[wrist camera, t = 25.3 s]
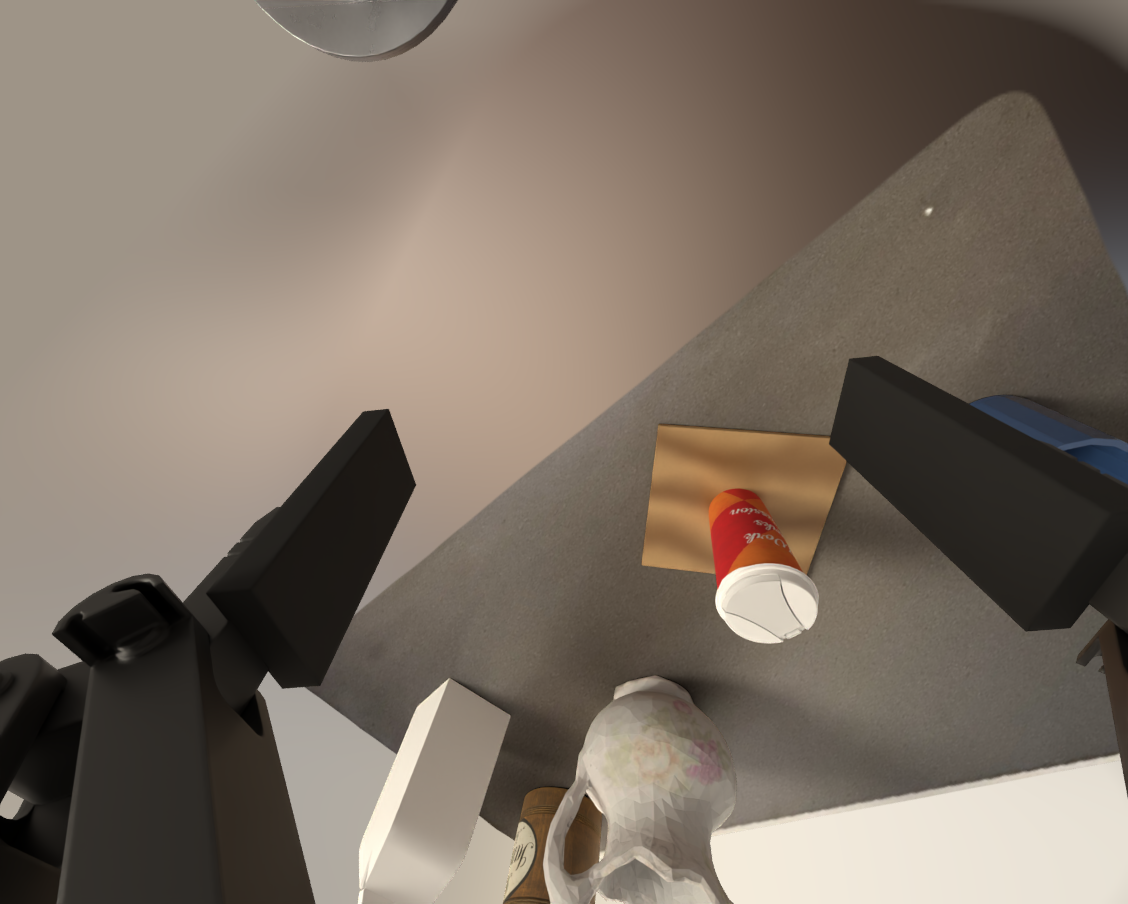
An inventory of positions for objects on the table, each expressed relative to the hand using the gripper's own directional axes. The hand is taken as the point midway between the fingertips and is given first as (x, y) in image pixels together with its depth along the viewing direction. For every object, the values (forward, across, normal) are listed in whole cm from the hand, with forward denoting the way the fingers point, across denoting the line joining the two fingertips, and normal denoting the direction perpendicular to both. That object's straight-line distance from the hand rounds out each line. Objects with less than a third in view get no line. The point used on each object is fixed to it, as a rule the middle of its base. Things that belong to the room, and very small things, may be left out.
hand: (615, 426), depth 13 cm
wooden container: (+23, -12, -92) cm, 96 cm away
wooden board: (+25, +14, -25) cm, 38 cm away
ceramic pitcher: (+23, +4, -59) cm, 64 cm away
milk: (+28, -25, -66) cm, 76 cm away
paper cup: (+24, +14, -25) cm, 38 cm away
